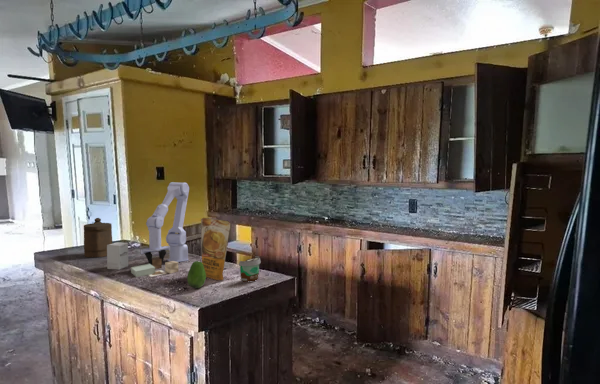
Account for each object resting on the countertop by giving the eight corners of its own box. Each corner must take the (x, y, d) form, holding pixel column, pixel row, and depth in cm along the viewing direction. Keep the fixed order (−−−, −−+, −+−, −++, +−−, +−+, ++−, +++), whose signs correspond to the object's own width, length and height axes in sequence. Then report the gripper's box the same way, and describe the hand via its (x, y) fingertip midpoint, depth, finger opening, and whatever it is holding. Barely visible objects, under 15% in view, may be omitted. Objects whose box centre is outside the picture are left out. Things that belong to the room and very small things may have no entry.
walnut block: (158, 266, 196) (158, 257, 195) (161, 268, 192) (161, 258, 192) (149, 268, 193) (149, 258, 192) (152, 269, 189) (152, 260, 189)
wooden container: (99, 251, 230) (98, 215, 228) (118, 253, 225) (117, 217, 223) (78, 256, 216) (77, 219, 214) (97, 258, 211) (96, 220, 209)
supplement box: (119, 270, 189) (119, 245, 188) (106, 269, 190) (106, 244, 189) (129, 266, 196) (128, 242, 195) (116, 265, 197) (116, 241, 196)
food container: (249, 284, 167) (249, 263, 166) (239, 282, 170) (238, 261, 169) (265, 277, 177) (266, 257, 177) (255, 275, 181) (255, 255, 180)
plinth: (149, 269, 189) (149, 263, 189) (155, 273, 182) (155, 267, 182) (131, 273, 183) (130, 267, 183) (136, 277, 176) (135, 271, 176)
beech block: (173, 270, 189) (172, 260, 188) (178, 272, 186) (178, 262, 186) (165, 272, 185) (165, 262, 185) (170, 274, 183) (170, 264, 182)
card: (161, 270, 188) (161, 269, 188) (167, 274, 182) (167, 273, 182) (145, 273, 183) (145, 272, 183) (150, 277, 177) (150, 276, 177)
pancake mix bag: (206, 271, 187) (206, 216, 185) (232, 279, 175) (232, 220, 173) (195, 274, 182) (195, 218, 180) (221, 282, 170) (220, 222, 168)
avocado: (204, 290, 159) (204, 263, 158) (185, 290, 158) (185, 263, 157) (207, 284, 167) (207, 258, 166) (189, 284, 166) (189, 258, 165)
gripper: (143, 242, 184) (143, 269, 185) (171, 239, 193) (172, 264, 194) (138, 240, 189) (139, 266, 190) (167, 237, 198) (167, 262, 199)
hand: (155, 265), depth 192 cm, fingers closed on walnut block, 4 cm apart
